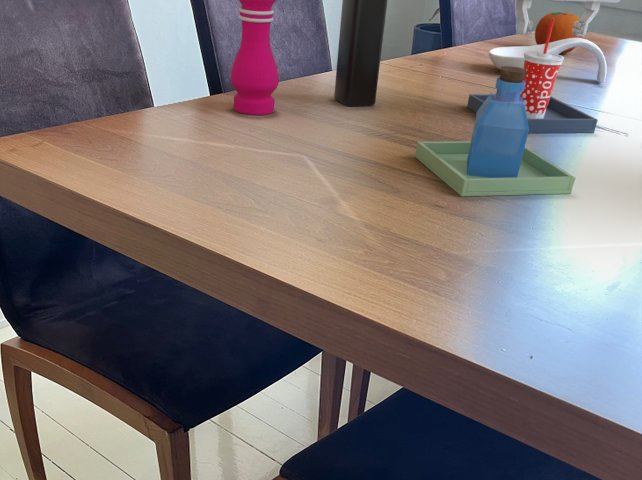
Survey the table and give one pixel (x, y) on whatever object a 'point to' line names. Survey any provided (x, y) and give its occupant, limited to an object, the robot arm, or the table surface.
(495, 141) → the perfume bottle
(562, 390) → the table surface
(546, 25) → the fruit
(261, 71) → the pepper mill
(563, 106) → the slate tray
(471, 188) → the sage tray
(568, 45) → the white ladle
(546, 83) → the beverage cup
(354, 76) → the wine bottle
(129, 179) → the table surface
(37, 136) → the table surface
